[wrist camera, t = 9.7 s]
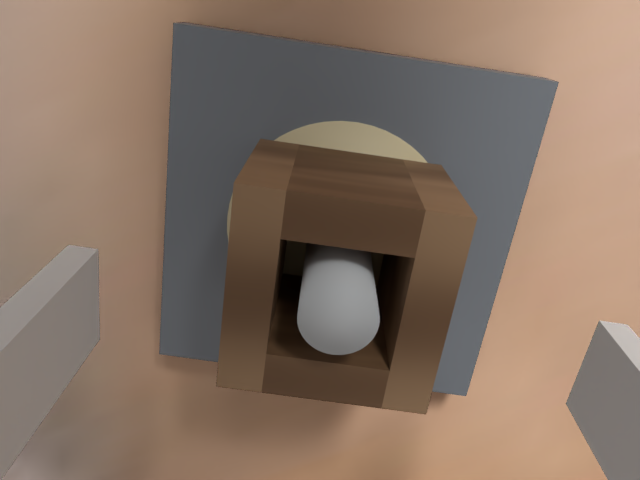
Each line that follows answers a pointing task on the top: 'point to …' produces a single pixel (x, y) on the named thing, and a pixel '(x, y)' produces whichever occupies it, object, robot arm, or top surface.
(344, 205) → the collar
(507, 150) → the post block
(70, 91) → the top surface
